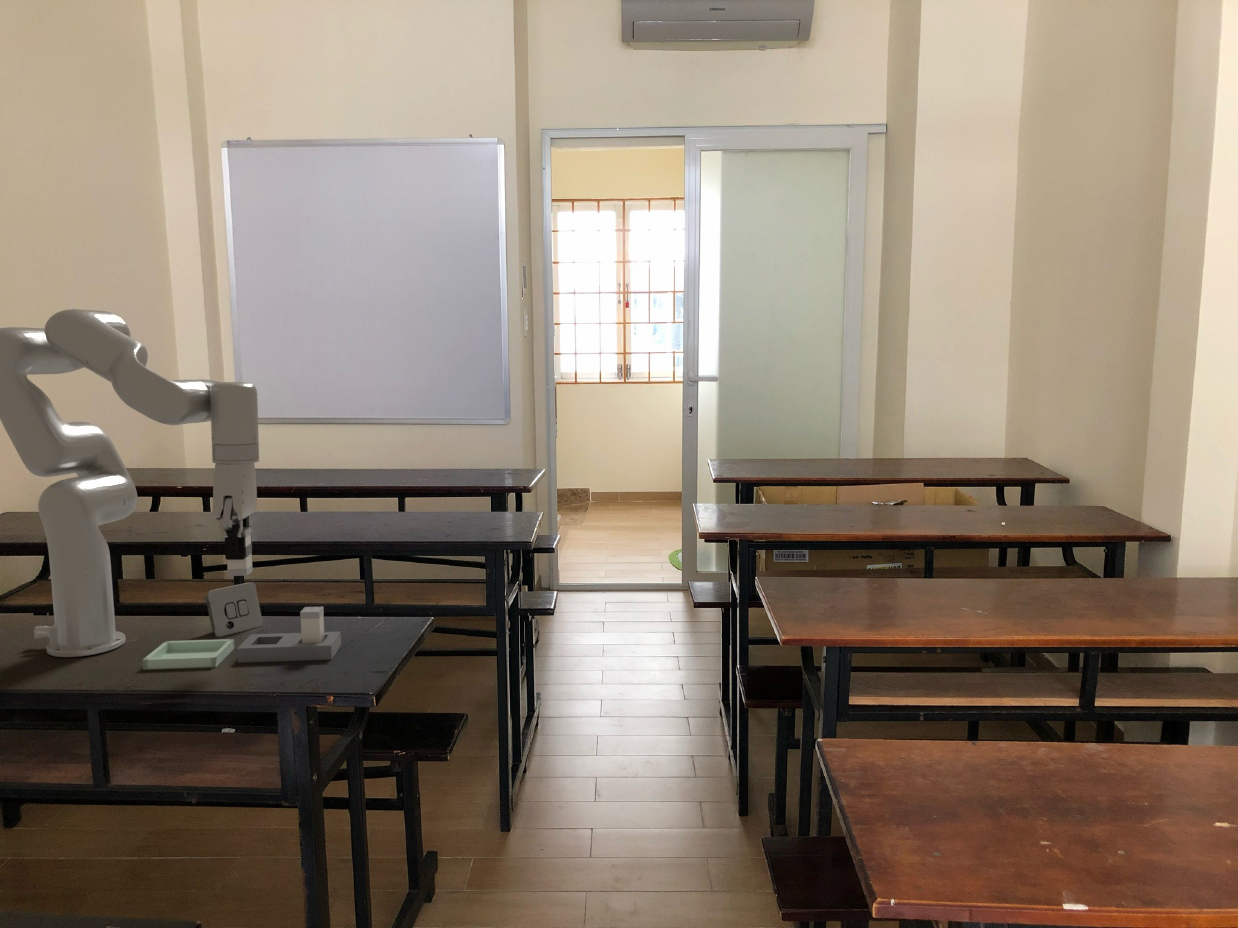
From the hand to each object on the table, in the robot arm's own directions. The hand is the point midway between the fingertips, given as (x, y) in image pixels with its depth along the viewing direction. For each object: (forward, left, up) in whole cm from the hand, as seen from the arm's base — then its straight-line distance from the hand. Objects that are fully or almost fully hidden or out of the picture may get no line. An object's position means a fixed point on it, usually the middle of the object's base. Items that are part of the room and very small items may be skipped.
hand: (239, 555), depth 158 cm
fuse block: (+8, 0, -19) cm, 20 cm away
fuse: (+12, 0, -18) cm, 22 cm away
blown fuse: (0, 0, -3) cm, 3 cm away
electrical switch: (-7, +16, -19) cm, 26 cm away
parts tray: (-9, -1, -19) cm, 21 cm away
